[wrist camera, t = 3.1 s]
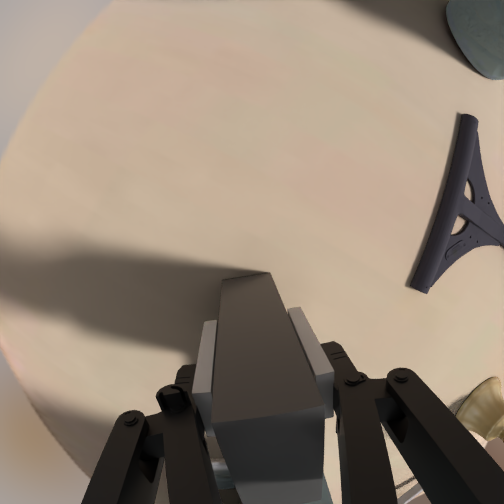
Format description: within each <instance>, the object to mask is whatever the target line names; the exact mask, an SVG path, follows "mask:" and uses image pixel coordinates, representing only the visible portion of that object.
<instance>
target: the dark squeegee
mask: <svg viewBox="0 0 504 504" xmlns="http://www.w3.org/2000/svg"><path fill="white" fill-rule="evenodd" d="M477 128H478V120H477V118H475V117H474V116H472V115H469V114H462V117H461V122H460V128H459V133H458V138H457V143H456V147H455V152H454V156H453V160H452V164H451V168H450V172H449V176H448V180H447V184H446V187H445V191H444V194H443V197H442V201H441V204H440V207H439V210H438V214H437V217H436V220H435V223H434V226H433V228H432V231H431V234H430V237H429V240H428V242H427V245H426V248H425V250H424V253H423V256H422V258H421V261H420V263H419V266H418V268H417V270H416V273H415V275H414V278H413V280H412V282H411V285H410V286H411V287H413V288H414V289H416V290H418V291H420V292H423V293H425V294H427V293H428V291H429V289H430V287H432V286H433V285H434V283H435V282H436V281H437V280H438V279H439V278H440V276H441V275H442V274H443V273H444V272H445V271H446V270H447V269H448V268H449V267H450V266H451V265H452V264H453V263H454V262H455V261H456V260H458V259H459V258H460V257H461V256H463V255H464V254H466V253H467V252H469V251H471V250H472V249H474V248H476V247H480V246H485V245H495V246H499V245H502V246H503V247H504V224H503V223H502V221H501V219H500V218H499V216H498V214H497V212H496V210H495V207H494V205H493V203H492V200H491V198H490V195H489V191H488V187H487V183H486V180H485V175H484V171H483V166H482V160H481V154H480V146H479V137H478V132H477ZM467 180H468V181H469V183H470V185H471V188H472V192H473V203H472V202H471V201H470V200H469V199H468V198H466V197H465V195H464V191H465V186H466V182H467ZM458 215H459V216H461V217H463V218H464V219H466V220H467V223H466V226H465V227H464V229H463V230H462V231H461V232H460V233H458V234H456V235H451V232H452V229H453V226H454V223H455V221H456V218H457V216H458Z"/></svg>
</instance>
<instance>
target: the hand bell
mask: <svg viewBox="0 0 504 504" xmlns="http://www.w3.org/2000/svg"><path fill="white" fill-rule="evenodd" d="M456 418H457V419H458V420H459V421H460V422H461V423H462V424H463V425H464V427H465V428H466V429H467V430H470V431H473V432H475V433H477V434H479V435H480V436H482V437H483V438H484V439H485V440H487V441H490V440H493V439H495V438H497V437H499V438H500V439H502V440H503V442H504V400H503V397H502V394H501V382H500V379H499V378H498V377H492V378H490V379H488V380H486V381H485V382H483V383H482V384H481V385H480V386H478V387H477V388H476V389H475V390H474V391H473V392H472V393H471V394H470V396H469V397H468V398H467V399H466V400H465V402H464V403H463V404H462V406H461V407H460V409H459V410H458V412H457V414H456Z"/></svg>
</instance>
